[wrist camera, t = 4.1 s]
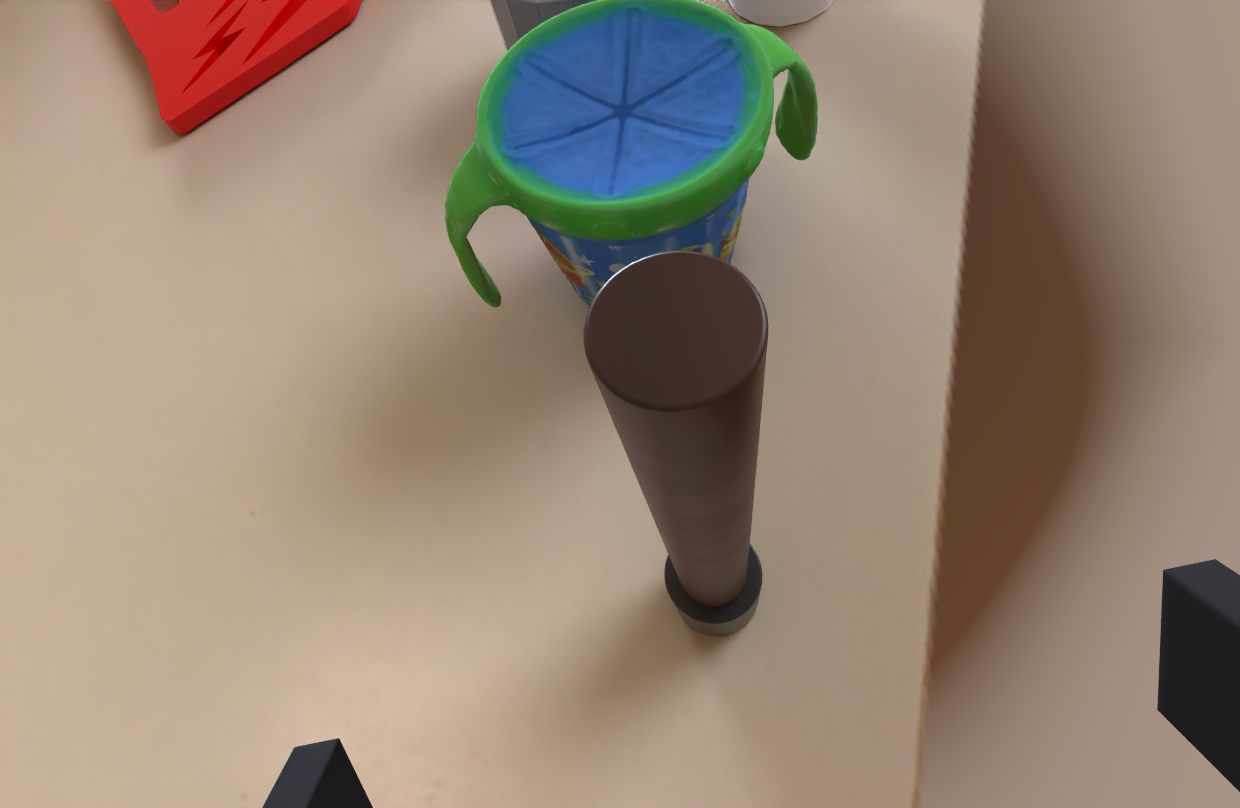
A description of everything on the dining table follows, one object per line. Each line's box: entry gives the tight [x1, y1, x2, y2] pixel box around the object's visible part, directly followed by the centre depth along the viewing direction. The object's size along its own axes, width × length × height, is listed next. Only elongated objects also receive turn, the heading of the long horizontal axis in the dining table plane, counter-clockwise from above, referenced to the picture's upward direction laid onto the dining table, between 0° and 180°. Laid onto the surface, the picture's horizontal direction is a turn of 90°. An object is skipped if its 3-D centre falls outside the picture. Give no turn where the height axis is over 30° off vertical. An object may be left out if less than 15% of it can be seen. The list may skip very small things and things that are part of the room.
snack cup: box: [445, 0, 818, 307], centre depth 28 cm, size 16×10×10 cm
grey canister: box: [489, 0, 597, 51], centre depth 36 cm, size 8×8×7 cm
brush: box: [584, 251, 768, 636], centre depth 17 cm, size 3×3×20 cm
